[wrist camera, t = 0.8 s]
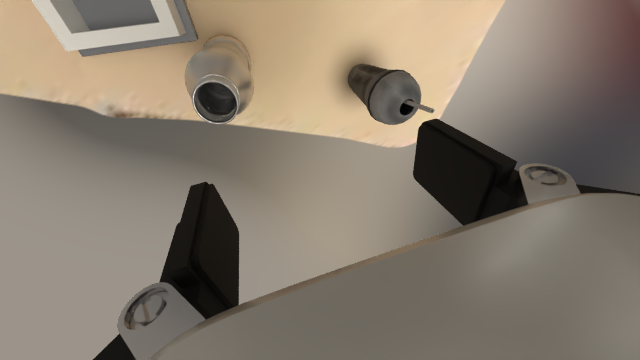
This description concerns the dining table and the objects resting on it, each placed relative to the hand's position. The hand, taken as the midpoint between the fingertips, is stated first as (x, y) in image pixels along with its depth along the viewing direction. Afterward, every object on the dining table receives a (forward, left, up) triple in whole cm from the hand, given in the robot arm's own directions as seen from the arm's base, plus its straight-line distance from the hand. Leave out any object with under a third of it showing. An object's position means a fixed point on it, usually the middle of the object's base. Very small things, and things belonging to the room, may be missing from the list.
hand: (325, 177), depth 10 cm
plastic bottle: (0, -6, -33) cm, 33 cm away
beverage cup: (+6, +15, -33) cm, 37 cm away
